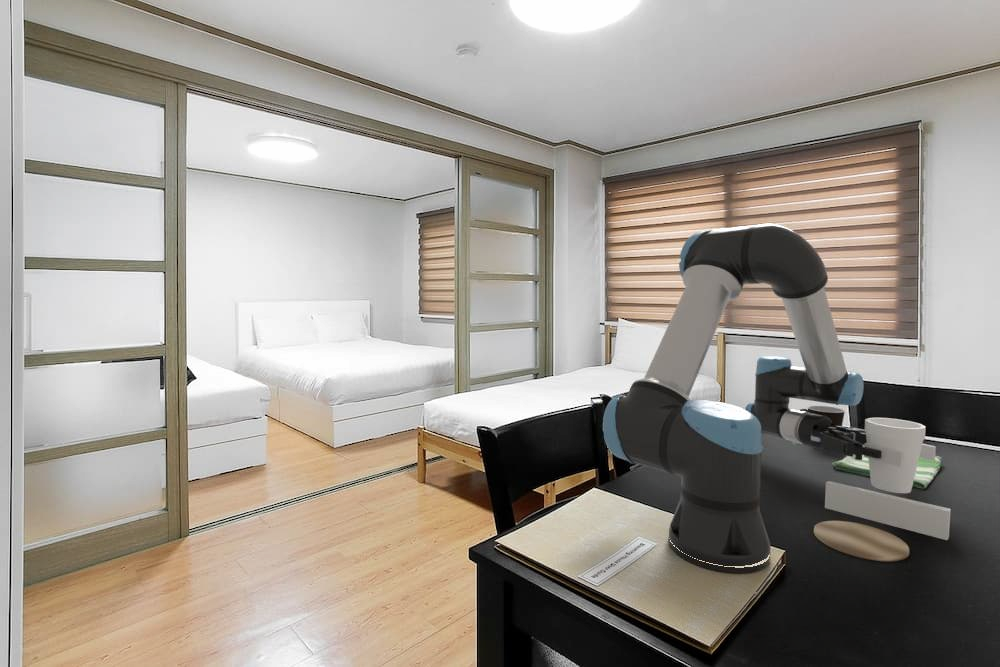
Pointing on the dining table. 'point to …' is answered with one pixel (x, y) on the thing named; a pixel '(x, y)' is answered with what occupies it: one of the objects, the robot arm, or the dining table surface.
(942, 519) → the low wall
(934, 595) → the dining table surface
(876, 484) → the foam cup
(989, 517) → the dining table surface
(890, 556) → the cork coaster
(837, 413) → the coffee mug
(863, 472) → the dish towel
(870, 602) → the dining table surface
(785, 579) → the dining table surface
